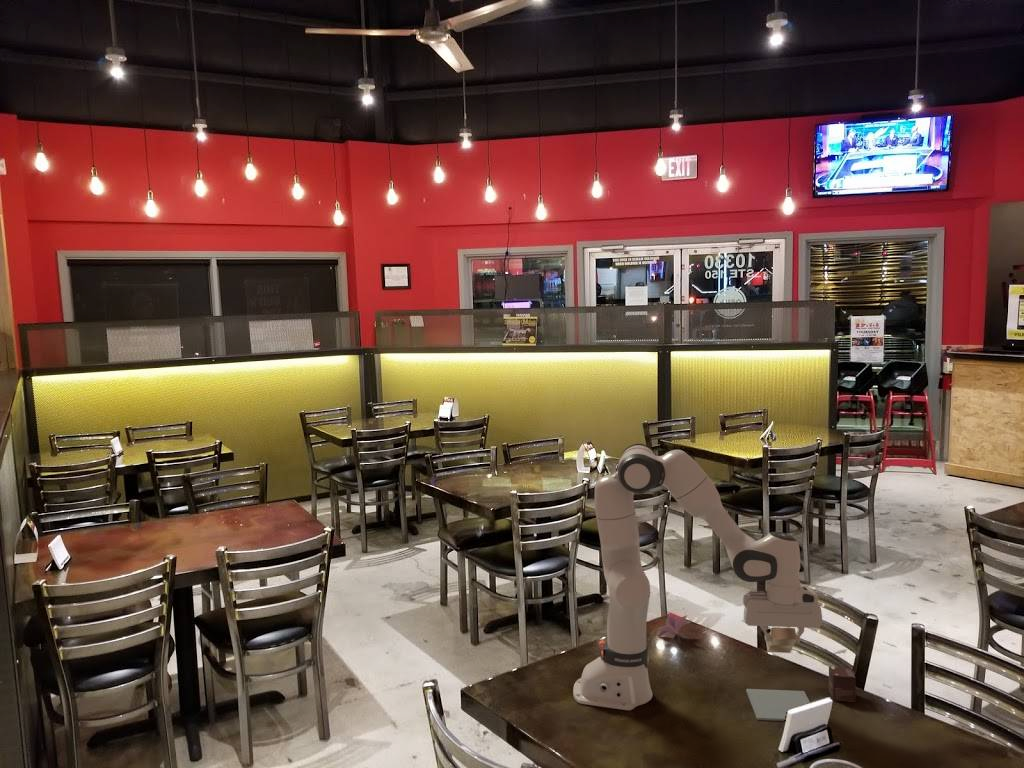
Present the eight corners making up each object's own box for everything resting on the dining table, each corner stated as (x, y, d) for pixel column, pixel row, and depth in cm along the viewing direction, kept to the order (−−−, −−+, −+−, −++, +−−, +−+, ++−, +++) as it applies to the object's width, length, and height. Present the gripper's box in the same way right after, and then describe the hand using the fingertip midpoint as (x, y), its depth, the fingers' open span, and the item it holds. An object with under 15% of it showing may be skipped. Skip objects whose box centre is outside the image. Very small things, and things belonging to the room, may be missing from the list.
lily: (696, 639, 253) (686, 611, 257) (697, 639, 242) (687, 610, 246) (662, 649, 254) (653, 621, 258) (662, 650, 243) (652, 620, 247)
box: (855, 702, 208) (856, 677, 207) (832, 701, 209) (833, 675, 208) (850, 692, 214) (851, 667, 213) (828, 690, 215) (828, 665, 214)
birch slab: (767, 652, 210) (773, 638, 202) (766, 641, 211) (772, 627, 204) (789, 652, 209) (796, 639, 201) (788, 642, 211) (794, 628, 203)
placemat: (757, 719, 200) (757, 717, 200) (746, 690, 216) (746, 688, 215) (819, 722, 198) (819, 720, 198) (803, 693, 214) (804, 691, 213)
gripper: (745, 595, 202) (745, 644, 203) (824, 597, 200) (823, 647, 201) (741, 587, 208) (740, 635, 210) (817, 588, 206) (817, 637, 207)
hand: (782, 641), depth 205 cm, fingers closed on birch slab, 6 cm apart
